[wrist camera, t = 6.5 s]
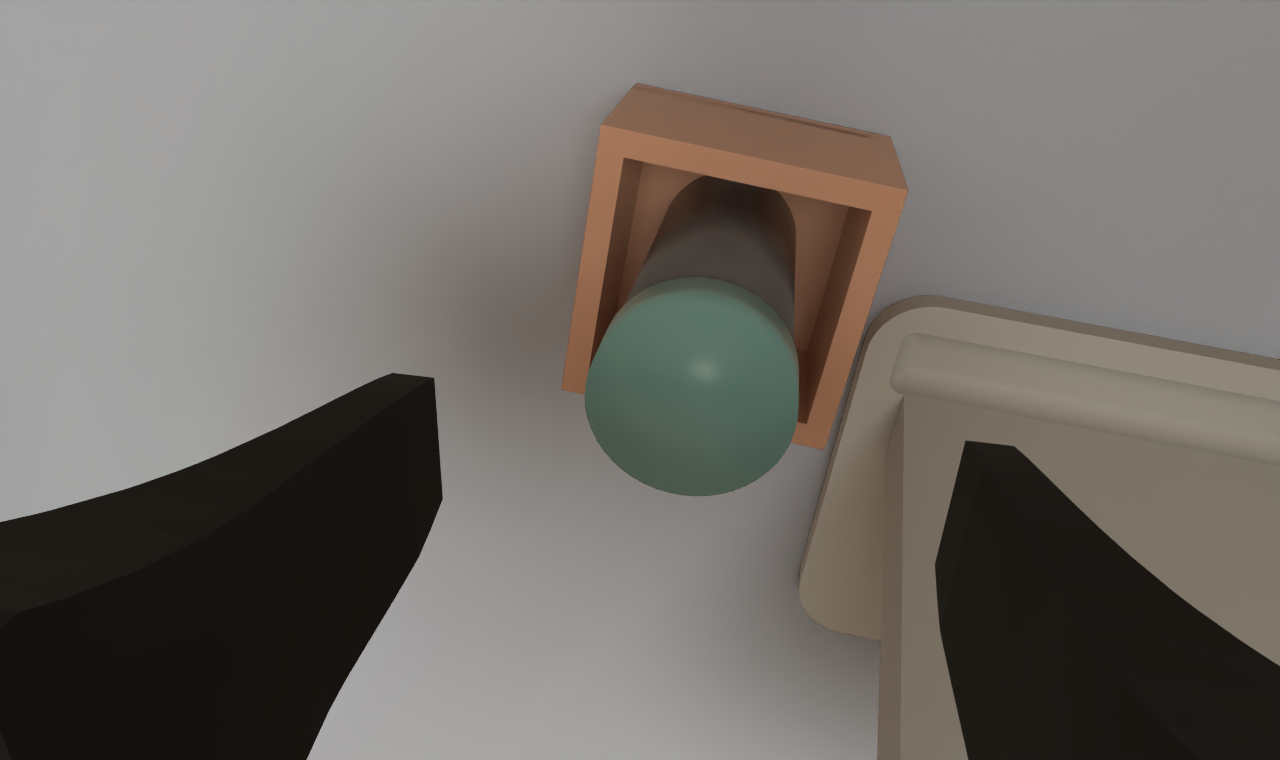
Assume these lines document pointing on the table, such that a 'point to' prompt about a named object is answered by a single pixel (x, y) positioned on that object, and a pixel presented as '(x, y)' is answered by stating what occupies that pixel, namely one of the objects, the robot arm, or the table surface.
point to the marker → (704, 346)
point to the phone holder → (1066, 453)
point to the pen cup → (761, 156)
